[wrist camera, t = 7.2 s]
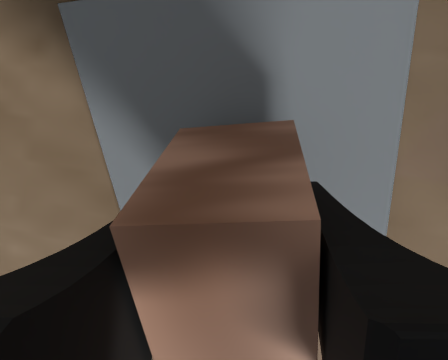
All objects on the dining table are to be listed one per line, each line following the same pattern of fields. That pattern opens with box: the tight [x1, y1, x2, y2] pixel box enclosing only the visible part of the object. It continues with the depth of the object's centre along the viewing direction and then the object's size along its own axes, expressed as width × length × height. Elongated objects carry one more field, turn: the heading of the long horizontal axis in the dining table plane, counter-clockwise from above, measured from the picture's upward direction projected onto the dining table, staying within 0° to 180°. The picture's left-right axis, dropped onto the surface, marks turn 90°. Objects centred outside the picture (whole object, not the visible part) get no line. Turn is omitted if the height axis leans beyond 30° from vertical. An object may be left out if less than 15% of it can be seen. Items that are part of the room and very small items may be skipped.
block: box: [109, 120, 321, 360], centre depth 10 cm, size 4×5×6 cm
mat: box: [58, 0, 419, 236], centre depth 14 cm, size 12×14×1 cm
